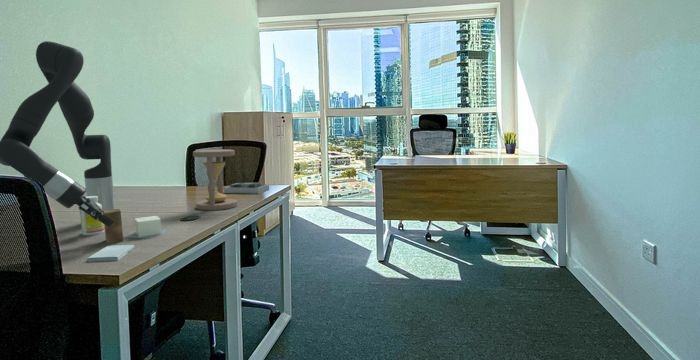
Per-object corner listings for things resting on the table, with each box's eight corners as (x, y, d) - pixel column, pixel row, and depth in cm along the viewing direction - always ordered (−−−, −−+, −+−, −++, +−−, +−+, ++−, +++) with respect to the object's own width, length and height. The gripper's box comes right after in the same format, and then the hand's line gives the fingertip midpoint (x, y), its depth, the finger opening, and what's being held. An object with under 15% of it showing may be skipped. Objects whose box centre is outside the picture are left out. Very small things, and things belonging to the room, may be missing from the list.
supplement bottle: (108, 232, 155) (105, 195, 153) (91, 237, 149) (87, 199, 147) (95, 230, 158) (92, 194, 156) (77, 235, 152) (74, 197, 150)
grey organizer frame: (224, 193, 239) (223, 187, 238) (236, 188, 253) (236, 183, 253) (258, 193, 235) (258, 187, 234) (269, 189, 249) (269, 184, 248)
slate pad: (120, 238, 147) (120, 237, 146) (144, 229, 158) (144, 228, 158) (150, 239, 144) (150, 238, 144) (172, 230, 156) (172, 229, 156)
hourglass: (209, 202, 210) (205, 149, 207) (243, 203, 207) (241, 149, 204) (188, 210, 193) (184, 152, 190) (225, 210, 190) (222, 152, 186)
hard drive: (117, 256, 123) (134, 244, 135) (86, 258, 122) (106, 245, 134) (118, 262, 123) (135, 249, 135) (86, 263, 122) (106, 250, 134)
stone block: (238, 191, 248) (237, 181, 247) (262, 191, 244) (262, 181, 244) (230, 193, 239) (230, 183, 238) (255, 193, 236) (255, 184, 235)
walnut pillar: (107, 244, 139) (104, 212, 138) (106, 241, 143) (103, 210, 142) (123, 242, 142) (120, 211, 140) (121, 239, 146) (119, 208, 144)
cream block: (138, 237, 146) (137, 222, 146) (135, 232, 152) (134, 218, 151) (161, 233, 150) (160, 219, 149) (157, 229, 156) (156, 215, 155)
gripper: (73, 182, 129) (121, 216, 136) (72, 177, 141) (116, 209, 148) (53, 202, 127) (103, 236, 134) (54, 196, 138) (99, 227, 146)
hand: (110, 221), depth 141 cm, fingers open, 8 cm apart
